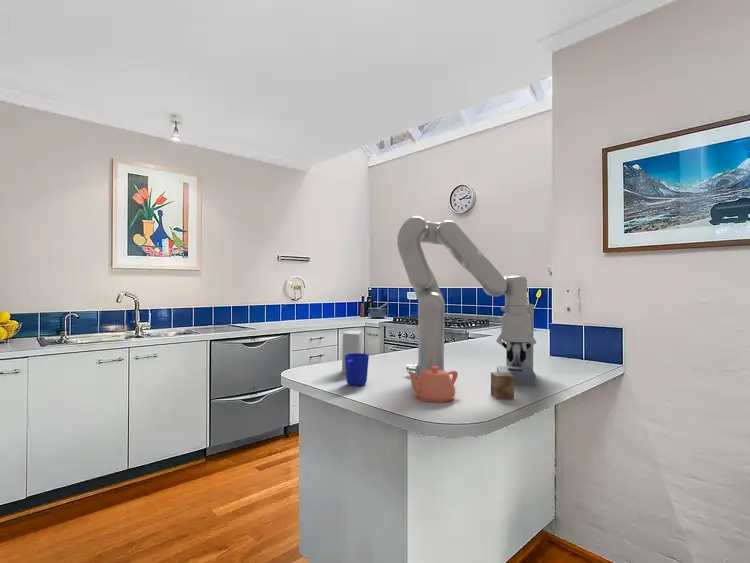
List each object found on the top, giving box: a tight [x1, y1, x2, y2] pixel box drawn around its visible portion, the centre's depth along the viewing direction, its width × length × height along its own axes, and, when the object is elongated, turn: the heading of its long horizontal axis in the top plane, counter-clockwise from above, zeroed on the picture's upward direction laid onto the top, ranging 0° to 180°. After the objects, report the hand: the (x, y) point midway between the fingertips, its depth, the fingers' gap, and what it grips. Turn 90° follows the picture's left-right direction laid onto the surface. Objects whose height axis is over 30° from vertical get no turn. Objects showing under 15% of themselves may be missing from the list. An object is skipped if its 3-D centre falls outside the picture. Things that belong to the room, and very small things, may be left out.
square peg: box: [490, 371, 515, 400], centre depth 128 cm, size 6×6×7 cm
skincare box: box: [341, 330, 363, 374], centre depth 162 cm, size 8×7×16 cm
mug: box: [345, 352, 370, 387], centre depth 140 cm, size 8×12×10 cm
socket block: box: [496, 365, 537, 387], centre depth 148 cm, size 12×12×4 cm
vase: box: [505, 303, 535, 371], centre depth 162 cm, size 10×10×27 cm
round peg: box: [511, 342, 522, 367], centre depth 148 cm, size 4×4×10 cm
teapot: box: [406, 366, 459, 403], centre depth 126 cm, size 12×18×10 cm
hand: (516, 360), depth 148 cm, fingers closed on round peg, 3 cm apart
